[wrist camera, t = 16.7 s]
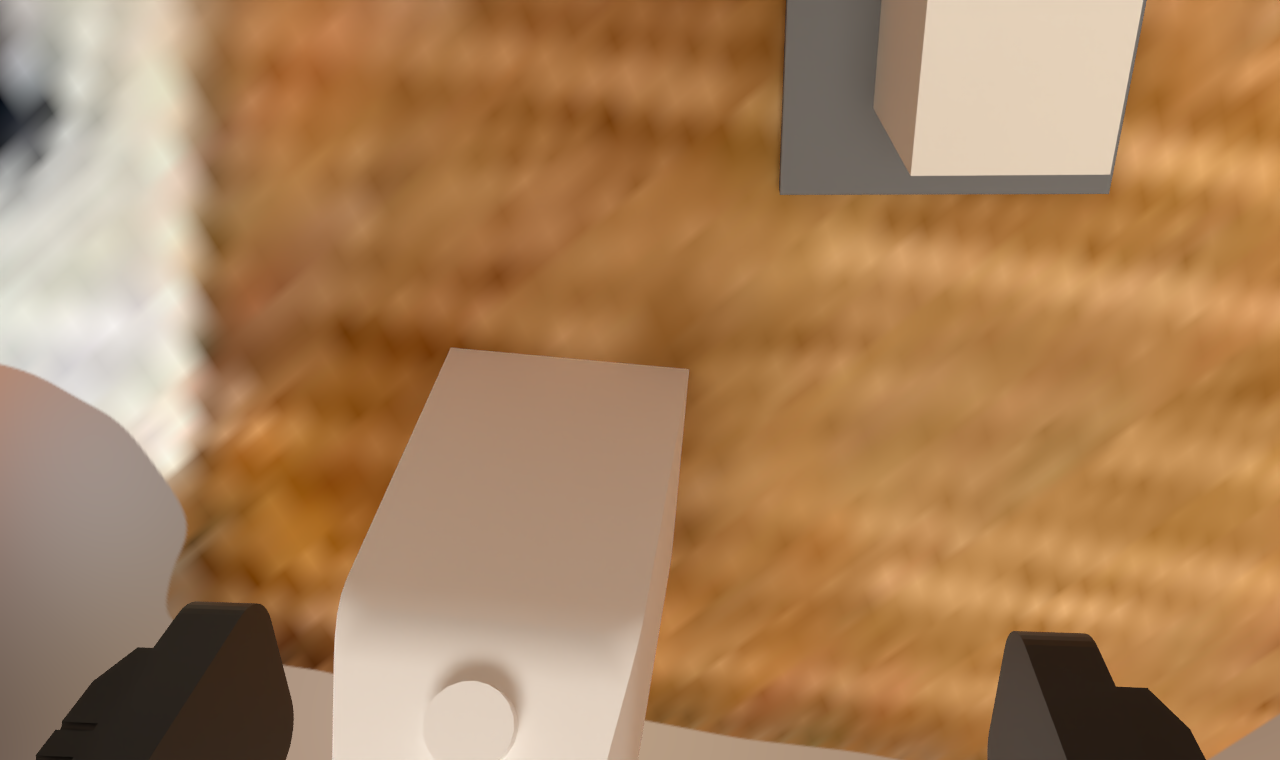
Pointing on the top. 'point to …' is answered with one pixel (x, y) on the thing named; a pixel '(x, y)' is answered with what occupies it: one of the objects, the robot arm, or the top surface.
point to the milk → (515, 566)
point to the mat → (868, 115)
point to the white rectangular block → (1004, 84)
